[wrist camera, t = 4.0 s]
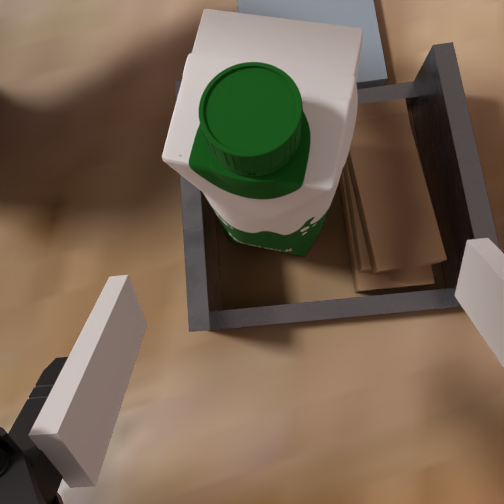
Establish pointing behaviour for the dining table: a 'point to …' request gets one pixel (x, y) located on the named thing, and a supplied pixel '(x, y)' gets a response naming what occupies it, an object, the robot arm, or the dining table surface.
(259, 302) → the dining table surface
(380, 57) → the mat
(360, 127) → the offcut stack
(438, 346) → the dining table surface
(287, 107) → the soya milk
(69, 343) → the dining table surface
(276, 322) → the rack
